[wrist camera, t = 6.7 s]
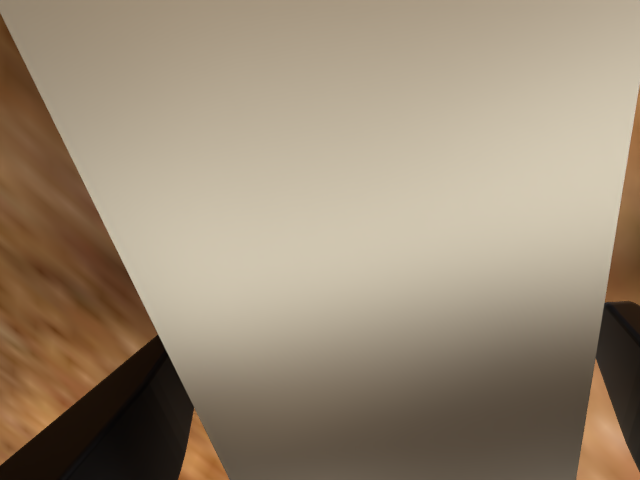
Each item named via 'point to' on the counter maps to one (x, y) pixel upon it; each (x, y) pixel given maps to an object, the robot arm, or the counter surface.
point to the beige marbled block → (358, 215)
